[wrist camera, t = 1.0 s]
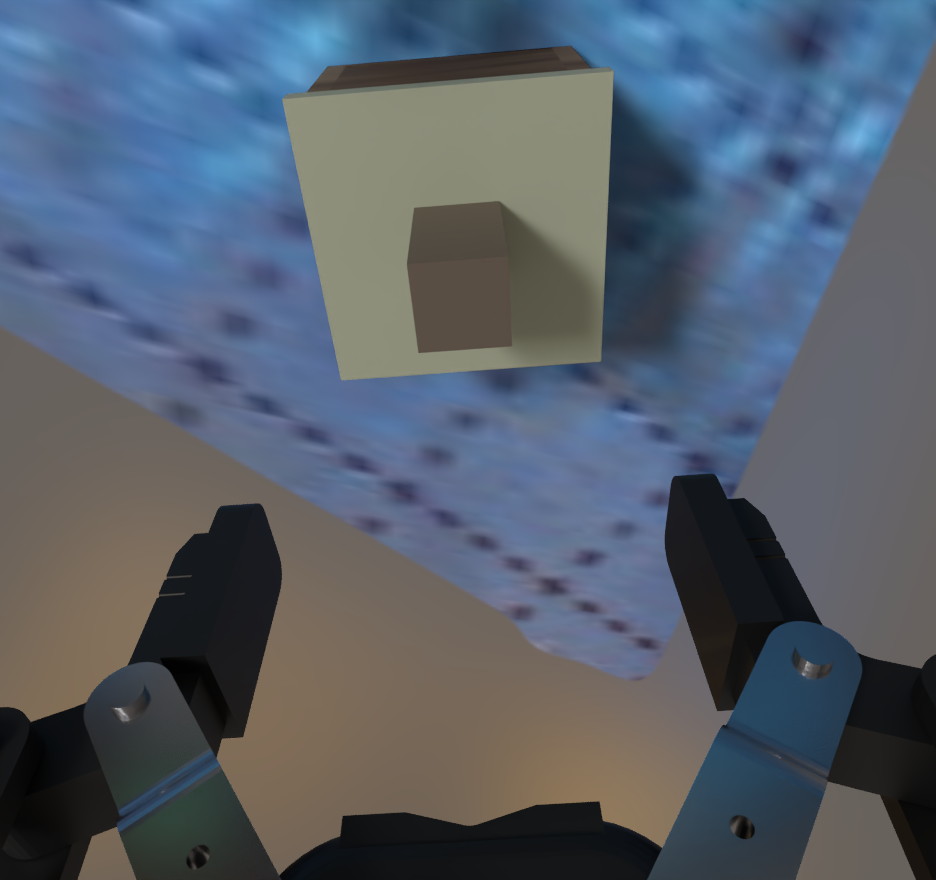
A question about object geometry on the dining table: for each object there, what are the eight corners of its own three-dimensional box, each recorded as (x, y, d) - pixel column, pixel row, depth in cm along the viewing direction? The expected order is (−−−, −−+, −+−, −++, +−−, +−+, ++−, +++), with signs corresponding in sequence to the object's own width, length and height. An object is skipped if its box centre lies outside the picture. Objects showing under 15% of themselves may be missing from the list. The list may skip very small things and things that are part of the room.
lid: (286, 94, 23) (245, 138, 19) (609, 67, 23) (648, 105, 19) (343, 370, 30) (323, 455, 25) (597, 351, 29) (624, 434, 25)
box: (327, 66, 29) (297, 103, 24) (571, 45, 29) (599, 78, 23) (366, 291, 35) (349, 363, 30) (568, 276, 35) (590, 345, 29)
